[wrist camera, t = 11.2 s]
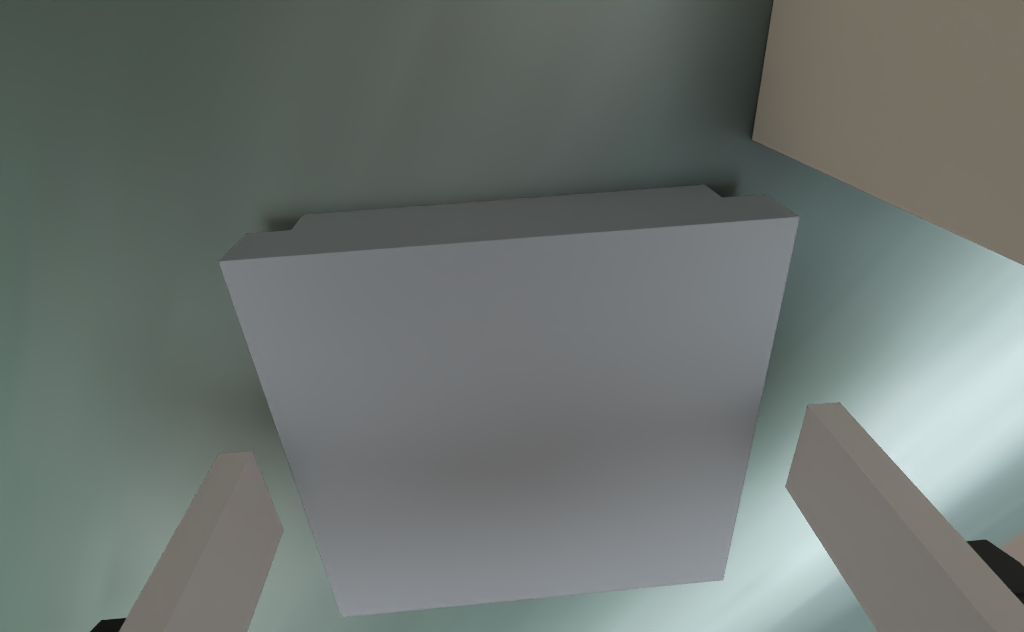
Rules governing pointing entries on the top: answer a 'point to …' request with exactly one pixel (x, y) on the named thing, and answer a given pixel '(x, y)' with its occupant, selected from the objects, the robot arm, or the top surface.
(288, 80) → the top surface
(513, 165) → the top surface
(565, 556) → the lid
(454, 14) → the top surface
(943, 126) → the crate
